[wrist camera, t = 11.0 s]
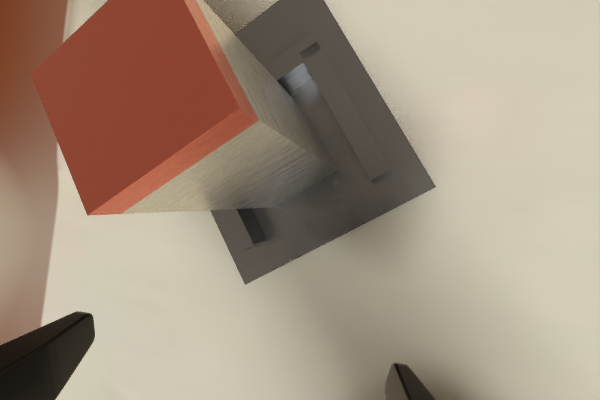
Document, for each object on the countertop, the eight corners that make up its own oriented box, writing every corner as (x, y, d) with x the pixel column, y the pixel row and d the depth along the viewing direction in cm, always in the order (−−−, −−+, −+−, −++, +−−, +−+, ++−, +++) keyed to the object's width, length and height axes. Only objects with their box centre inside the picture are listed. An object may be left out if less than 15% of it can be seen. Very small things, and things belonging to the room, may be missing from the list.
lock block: (337, 170, 19) (239, 107, 6) (273, 207, 20) (87, 215, 8) (303, 108, 20) (155, -57, 7) (243, 148, 21) (28, 66, 8)
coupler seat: (434, 187, 18) (442, 184, 15) (247, 283, 21) (229, 294, 19) (310, -20, 20) (300, -51, 17) (160, 98, 23) (133, 85, 21)
